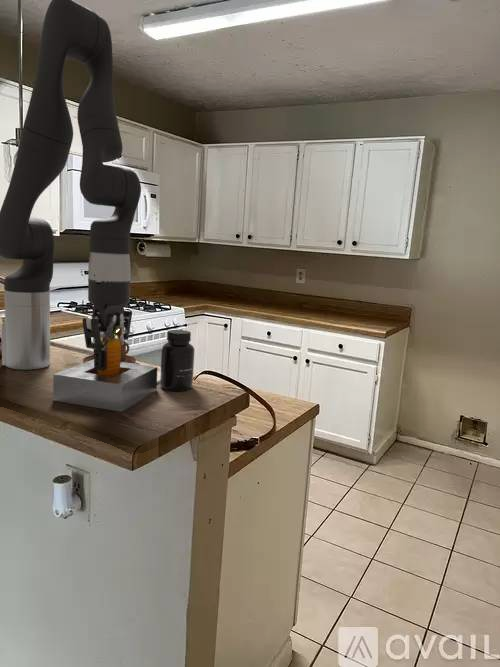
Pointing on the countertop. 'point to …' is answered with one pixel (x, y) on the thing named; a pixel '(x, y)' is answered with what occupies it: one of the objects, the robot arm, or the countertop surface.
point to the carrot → (112, 356)
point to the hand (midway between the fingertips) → (108, 366)
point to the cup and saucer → (124, 357)
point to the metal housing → (105, 386)
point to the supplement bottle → (177, 361)
